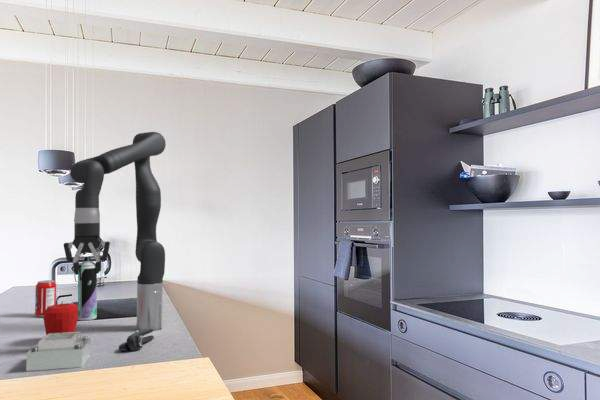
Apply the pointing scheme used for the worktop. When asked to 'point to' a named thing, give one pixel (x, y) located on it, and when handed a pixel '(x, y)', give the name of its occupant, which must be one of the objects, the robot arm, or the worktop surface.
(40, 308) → the soda can
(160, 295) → the robot arm
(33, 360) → the grey square holder
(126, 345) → the can opener
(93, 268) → the spray can
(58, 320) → the apple
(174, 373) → the worktop surface
